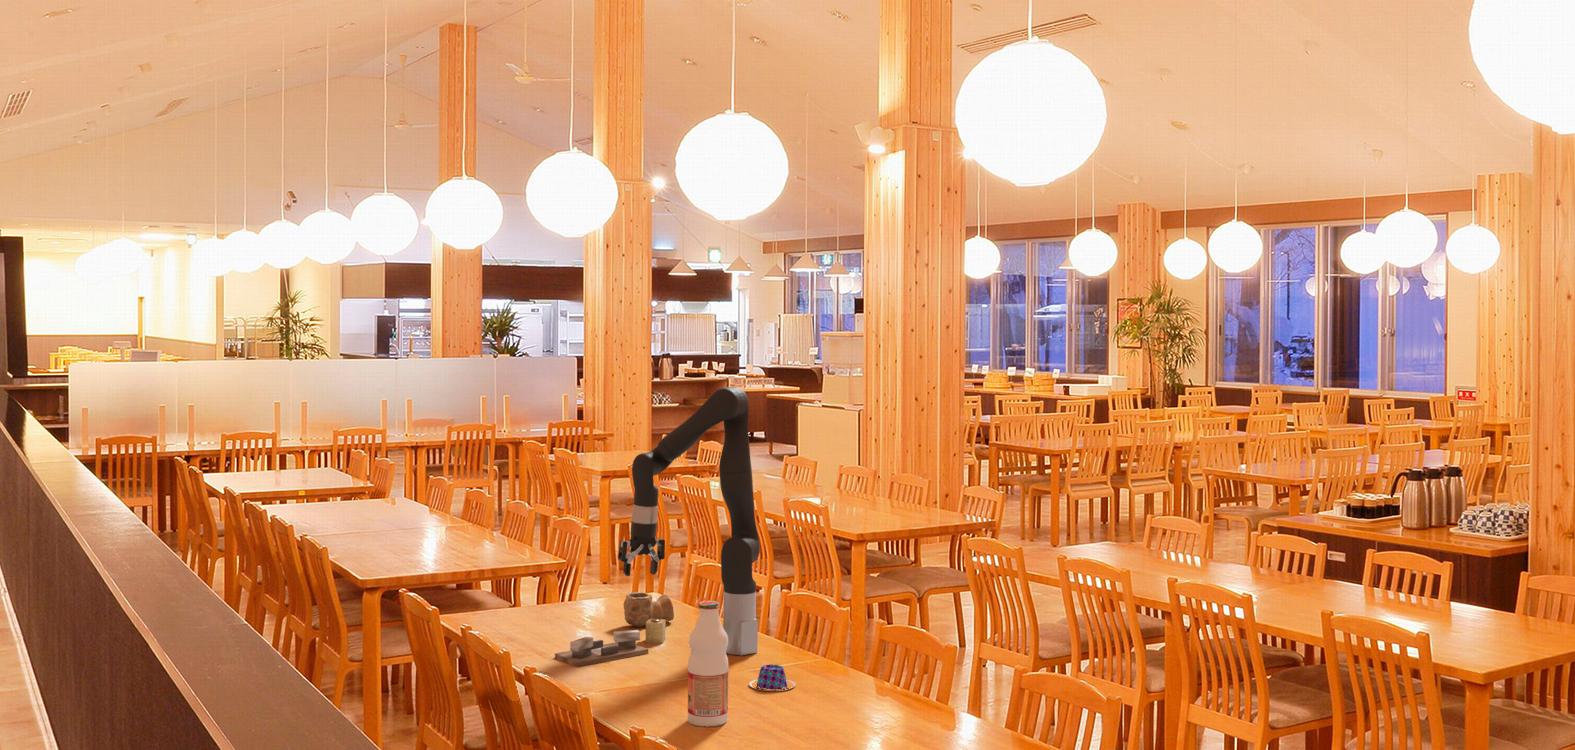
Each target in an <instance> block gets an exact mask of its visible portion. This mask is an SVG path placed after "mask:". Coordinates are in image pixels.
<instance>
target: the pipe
mask: <svg viewBox="0 0 1575 750" xmlns="http://www.w3.org/2000/svg"><path fill="white" fill-rule="evenodd" d="M652 599H653V596H652V594H649V593H648V592H640V591H637V592H635V591H633V592H629V593H627V594H626V596H625V599H624V601H623V611H624V612H623V614H624V620H625V622H626V623H627V624H628V625H630V626H633V627H635V628H640V627H644V626H646V622H647V621H648V619H665V620H666V621H669V622H672V621H673V620H674V619H675V613H674V612H675V611H674V610H675V609H674V605H673V604H674V603H673V602H672V600H671V598H670V597H669V596H668V595H667V594H661V595H660V596H659V597H658V598H657V600H656V601H652Z"/></svg>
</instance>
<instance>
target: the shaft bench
mask: <svg viewBox="0 0 1575 750" xmlns="http://www.w3.org/2000/svg"><path fill="white" fill-rule="evenodd" d="M613 641H614V642H610V643H604V640H602V639H599V640H594V637H590V636H584V637H581V638H577V639H575V640H572V641H570V643H569V645H570V646H569V649H570V650H567V651H561V652H557V653H554V658H555V659H557V660H559V661H562V662H565V663H568V664H570V665H572V666H575V667H577V668H579V667H585V666H590V665H596V664H601V663H605V662H606V663H607V662H610V661H616V660H621V659H622V660H623V659H625V658H630V657H631V658H632V657H637V656H641V655H646V654H647V655H648V654H649V648H647V647H645V646H640V645H637V644H636V643H637V642H636V641H641V631H640V630H639V629H634V630H633V629H632V630H619V631H613Z"/></svg>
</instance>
